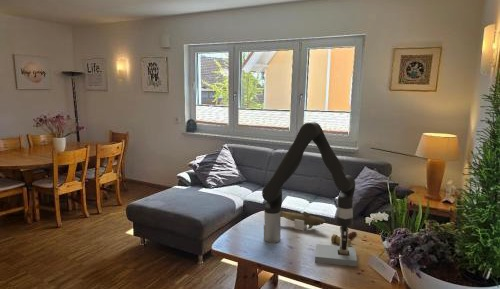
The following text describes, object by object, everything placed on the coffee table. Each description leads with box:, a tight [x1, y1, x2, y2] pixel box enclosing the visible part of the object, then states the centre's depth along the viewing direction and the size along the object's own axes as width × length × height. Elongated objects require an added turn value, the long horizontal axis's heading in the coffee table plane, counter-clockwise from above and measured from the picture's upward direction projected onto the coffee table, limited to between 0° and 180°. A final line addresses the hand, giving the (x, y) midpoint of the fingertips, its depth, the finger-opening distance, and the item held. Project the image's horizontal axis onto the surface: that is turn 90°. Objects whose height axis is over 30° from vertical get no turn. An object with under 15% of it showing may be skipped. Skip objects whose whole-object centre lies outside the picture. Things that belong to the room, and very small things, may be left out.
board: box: [314, 243, 358, 267], centre depth 165 cm, size 20×14×3 cm
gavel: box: [330, 231, 357, 247], centre depth 186 cm, size 21×5×10 cm
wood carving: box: [280, 209, 326, 231], centre depth 203 cm, size 9×35×11 cm, turn 61°
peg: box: [339, 234, 348, 256], centre depth 164 cm, size 4×4×12 cm
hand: (343, 245), depth 164 cm, fingers open, 8 cm apart
